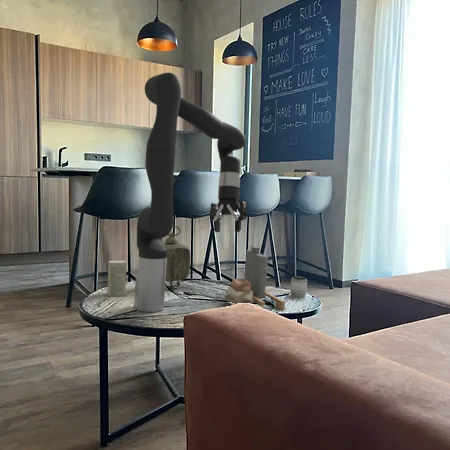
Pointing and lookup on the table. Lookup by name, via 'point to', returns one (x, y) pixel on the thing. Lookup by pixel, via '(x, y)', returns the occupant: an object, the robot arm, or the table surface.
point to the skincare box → (116, 278)
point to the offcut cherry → (241, 285)
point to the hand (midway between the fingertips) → (227, 232)
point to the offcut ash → (239, 294)
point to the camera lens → (298, 286)
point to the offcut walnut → (238, 301)
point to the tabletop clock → (176, 259)
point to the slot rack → (279, 302)
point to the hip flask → (256, 271)
